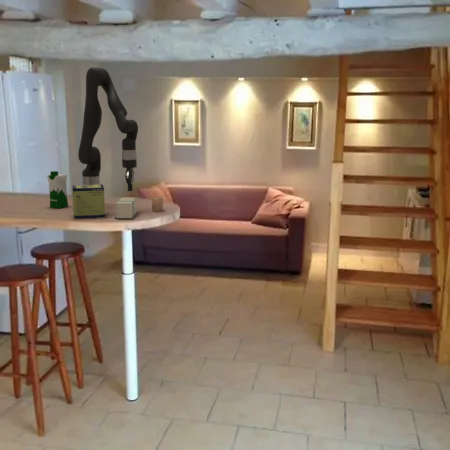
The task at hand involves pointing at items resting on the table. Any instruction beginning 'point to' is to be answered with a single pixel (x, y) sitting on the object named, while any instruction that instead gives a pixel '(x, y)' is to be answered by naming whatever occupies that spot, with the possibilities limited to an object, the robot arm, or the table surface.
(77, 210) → the protein box
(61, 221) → the table surface
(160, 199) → the tan small block
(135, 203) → the oat carton
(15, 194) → the table surface
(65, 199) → the milk carton
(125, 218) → the mat
